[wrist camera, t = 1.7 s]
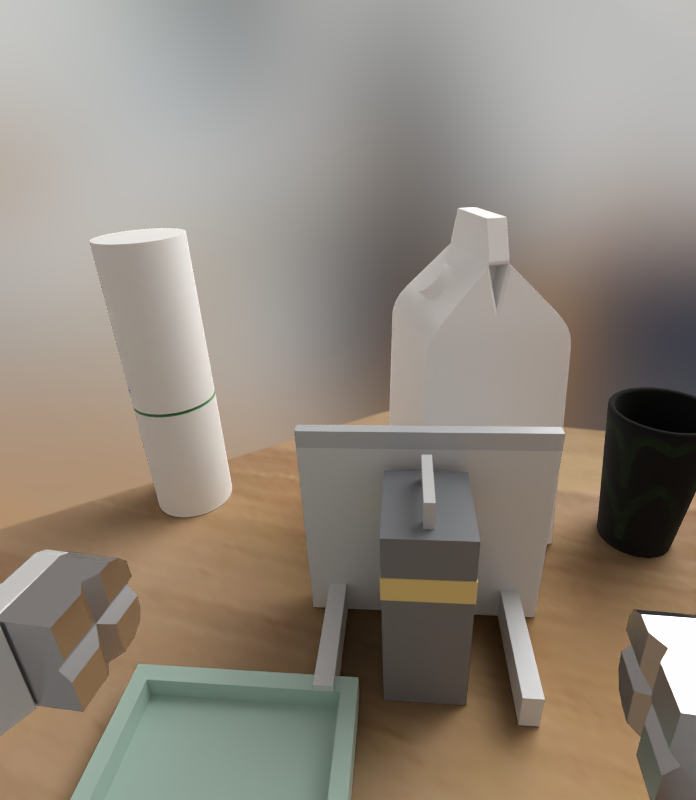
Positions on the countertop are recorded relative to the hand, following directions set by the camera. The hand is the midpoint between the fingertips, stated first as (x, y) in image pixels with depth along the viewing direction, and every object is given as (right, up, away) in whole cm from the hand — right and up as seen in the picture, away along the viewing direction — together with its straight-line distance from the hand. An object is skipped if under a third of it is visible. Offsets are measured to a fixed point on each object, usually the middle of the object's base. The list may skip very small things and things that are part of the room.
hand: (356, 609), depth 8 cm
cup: (+24, -8, +36) cm, 44 cm away
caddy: (+5, -14, +26) cm, 30 cm away
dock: (+5, -14, +26) cm, 30 cm away
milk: (+10, -7, +40) cm, 42 cm away
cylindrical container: (-15, -6, +44) cm, 47 cm away
